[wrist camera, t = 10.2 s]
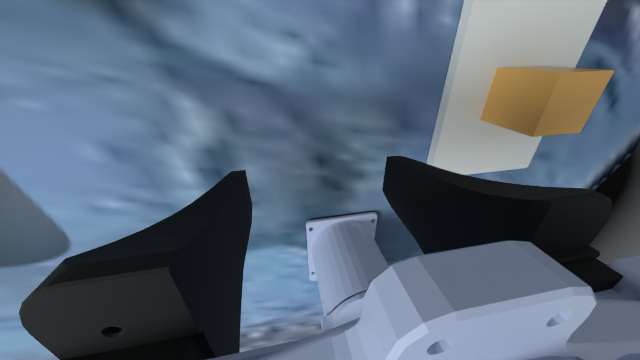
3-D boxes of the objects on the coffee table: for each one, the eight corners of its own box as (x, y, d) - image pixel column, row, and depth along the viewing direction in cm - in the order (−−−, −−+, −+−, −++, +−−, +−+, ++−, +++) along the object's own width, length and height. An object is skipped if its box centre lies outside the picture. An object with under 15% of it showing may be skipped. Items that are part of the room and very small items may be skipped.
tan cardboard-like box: (520, 116, 22) (579, 132, 18) (480, 119, 21) (532, 136, 17) (541, 66, 20) (614, 70, 16) (497, 67, 19) (561, 72, 15)
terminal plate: (519, 163, 26) (561, 183, 23) (423, 174, 25) (452, 197, 21) (600, -16, 19) (686, -33, 15) (468, -19, 17) (527, -40, 13)
